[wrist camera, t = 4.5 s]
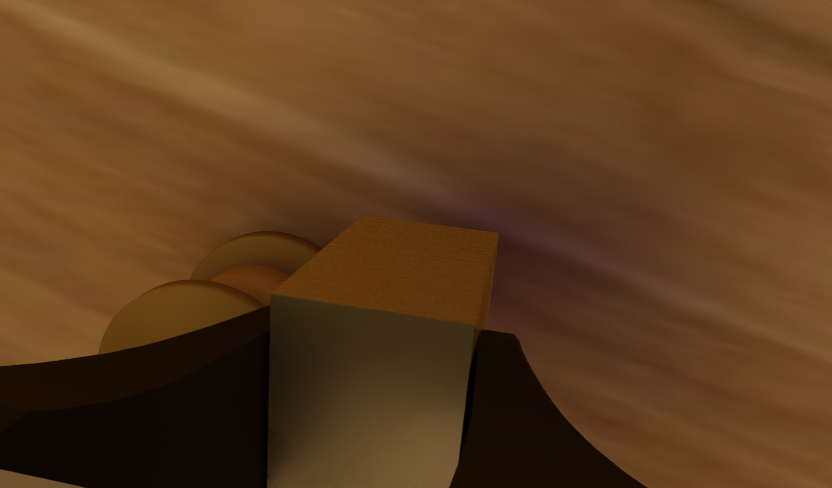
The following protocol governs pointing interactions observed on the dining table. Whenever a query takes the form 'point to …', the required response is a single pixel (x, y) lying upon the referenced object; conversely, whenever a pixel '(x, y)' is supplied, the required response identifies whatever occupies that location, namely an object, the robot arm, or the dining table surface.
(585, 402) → the dining table surface
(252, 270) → the bobbin
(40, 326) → the dining table surface
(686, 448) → the dining table surface
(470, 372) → the tab
